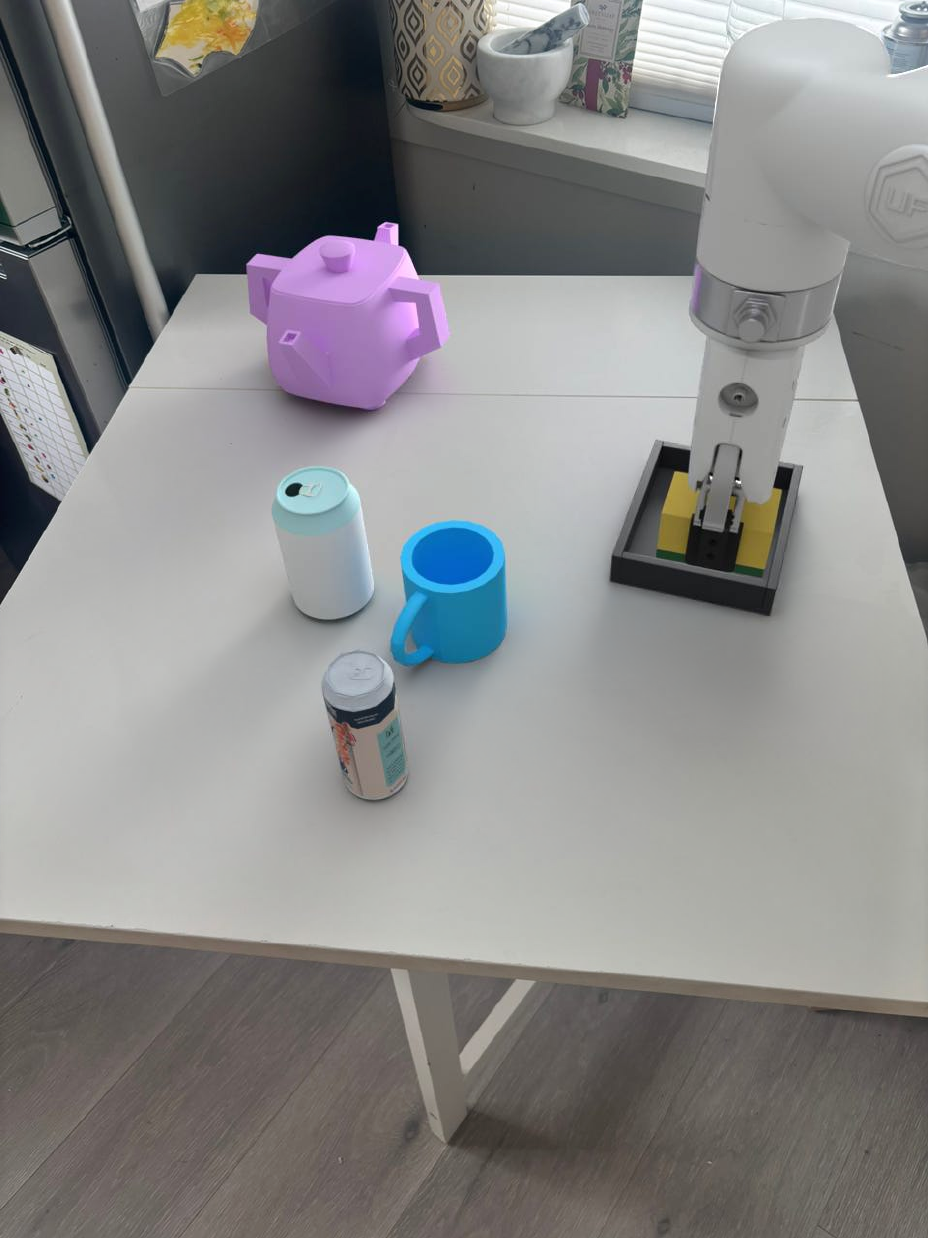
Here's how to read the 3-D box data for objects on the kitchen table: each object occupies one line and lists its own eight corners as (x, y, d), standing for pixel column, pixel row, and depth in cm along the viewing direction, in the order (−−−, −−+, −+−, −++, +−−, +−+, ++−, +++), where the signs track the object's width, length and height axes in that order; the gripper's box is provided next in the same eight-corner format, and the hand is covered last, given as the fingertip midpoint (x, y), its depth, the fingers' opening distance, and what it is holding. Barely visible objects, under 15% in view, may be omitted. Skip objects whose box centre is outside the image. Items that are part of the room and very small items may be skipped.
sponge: (771, 534, 67) (782, 489, 64) (762, 578, 65) (773, 533, 62) (668, 515, 69) (674, 470, 66) (655, 557, 66) (661, 512, 63)
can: (309, 635, 83) (283, 529, 74) (283, 583, 88) (255, 476, 79) (387, 607, 85) (370, 499, 76) (357, 556, 89) (338, 450, 80)
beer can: (348, 749, 75) (323, 644, 66) (411, 748, 75) (395, 644, 66) (341, 803, 72) (314, 701, 63) (406, 803, 72) (389, 701, 63)
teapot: (302, 449, 100) (275, 314, 89) (247, 362, 112) (217, 232, 101) (472, 394, 106) (465, 260, 95) (403, 316, 117) (390, 188, 106)
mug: (448, 578, 87) (442, 507, 81) (526, 615, 83) (525, 544, 77) (360, 665, 81) (346, 595, 75) (439, 710, 77) (432, 641, 71)
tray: (797, 491, 92) (803, 465, 90) (769, 616, 82) (776, 590, 80) (652, 464, 96) (655, 439, 94) (609, 581, 86) (611, 555, 83)
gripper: (819, 388, 47) (754, 642, 60) (849, 224, 57) (788, 472, 71) (661, 365, 49) (632, 617, 62) (718, 211, 59) (683, 454, 73)
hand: (716, 537), depth 66 cm, fingers closed on sponge, 4 cm apart
